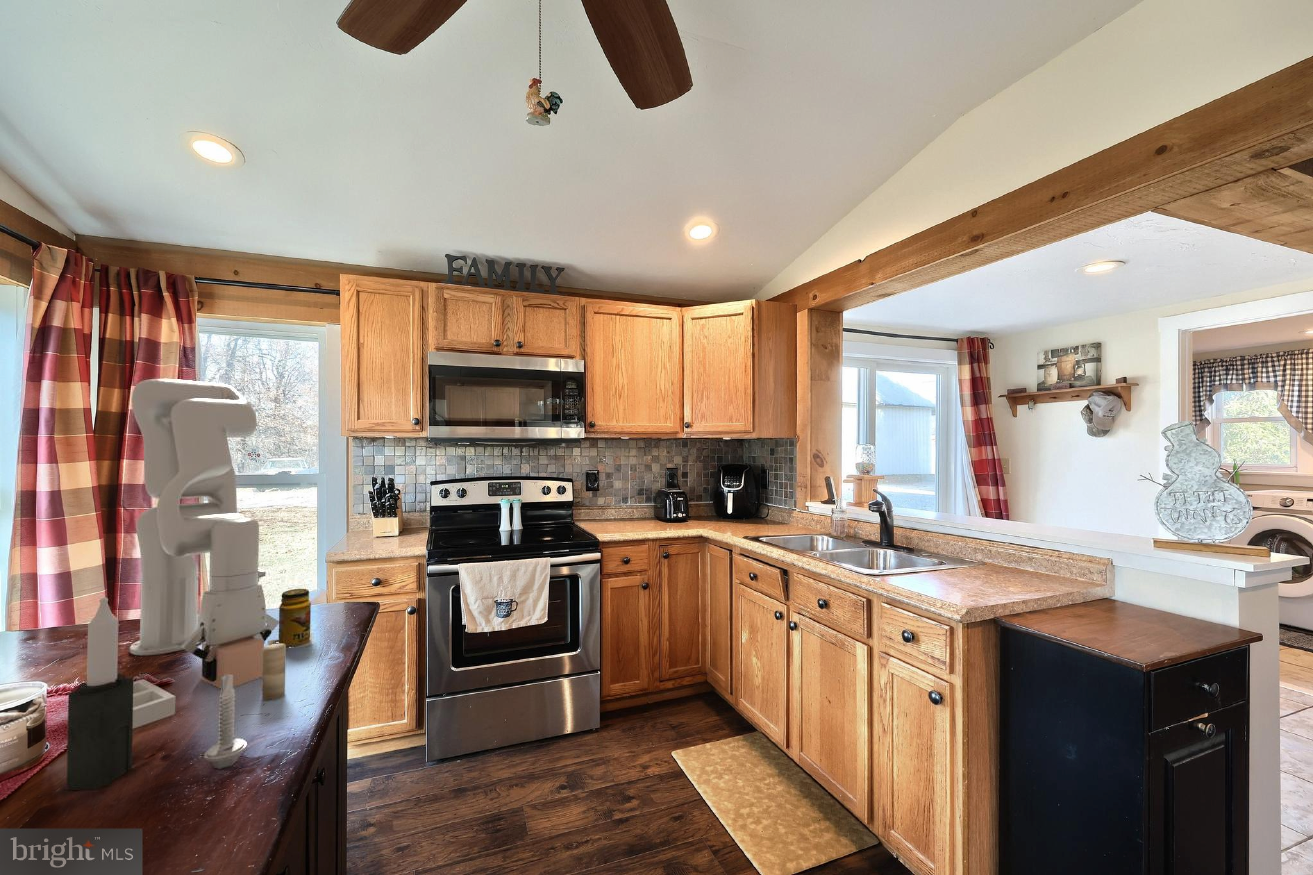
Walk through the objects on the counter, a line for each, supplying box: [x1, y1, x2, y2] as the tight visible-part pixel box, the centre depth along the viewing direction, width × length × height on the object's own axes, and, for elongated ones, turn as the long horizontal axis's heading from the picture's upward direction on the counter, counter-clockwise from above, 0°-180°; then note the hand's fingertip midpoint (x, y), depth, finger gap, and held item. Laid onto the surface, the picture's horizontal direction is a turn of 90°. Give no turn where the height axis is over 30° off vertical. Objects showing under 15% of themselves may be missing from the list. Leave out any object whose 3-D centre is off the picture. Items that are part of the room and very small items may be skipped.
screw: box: [203, 674, 248, 770], centre depth 77 cm, size 13×5×5 cm
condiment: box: [267, 588, 313, 650], centre depth 121 cm, size 7×8×12 cm
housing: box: [200, 636, 265, 689], centre depth 103 cm, size 9×6×7 cm
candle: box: [66, 597, 135, 791], centre depth 73 cm, size 5×5×25 cm
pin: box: [261, 644, 287, 702], centre depth 96 cm, size 3×3×9 cm
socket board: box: [133, 678, 176, 730], centre depth 90 cm, size 13×7×3 cm, turn 62°
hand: (232, 671), depth 103 cm, fingers closed on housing, 6 cm apart
